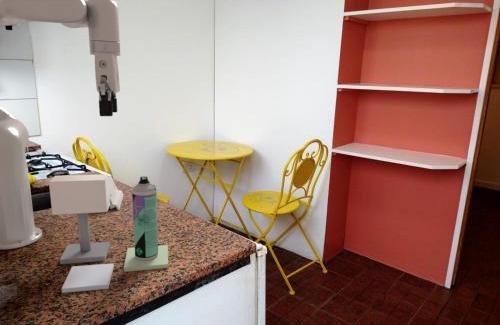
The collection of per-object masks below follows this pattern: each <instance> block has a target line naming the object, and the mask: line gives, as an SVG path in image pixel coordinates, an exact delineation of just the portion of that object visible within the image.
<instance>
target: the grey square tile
mask: <svg viewBox="0 0 500 325" xmlns="http://www.w3.org/2000/svg"><path fill="white" fill-rule="evenodd" d="M114 265H115V264H114V263H112V262H111V263H101V264H88V265H77V266H71V268H70V270H69V272H68V275H67V277H66V279H65V281H64V283H63V285H62V287H61V293H62V294H64V293H74V292H75V293H76V292H77V293H78V292H85V291H97V290H98V291H99V290H106V289H107V290H108V289H109V287H110V284H111V279H112V276H113V271H114V268H115V266H114Z"/></svg>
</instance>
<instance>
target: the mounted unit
mask: <svg viewBox="0 0 500 325" xmlns="http://www.w3.org/2000/svg"><path fill="white" fill-rule="evenodd" d="M108 177H109V173H106V174H105V173H104V174H101V173H100V174H74V175H73V174H70V175H69V174H67V175H54V176H53V177H52V178H51V179H50V180H49V181H48V184H49V195H50V205H51V215H52V216H53V215H54V216H56V215H71V214H72V215H75V214H76V215H77V224H78V226H77V227H78V228H77V229H78V238H79V243H72V244H71V243H69V244H67V246H66V247H65V249H64V251H63V253H62V255H61V257H60V258H59V265H67V264H68V265H70V264H81V263H82V264H83V263H95V262H105V261H106V258H107V256H108V252H109V249H110V241H104V242H103V241H100V242H91V233H90V221H89V220H90V219H89V214H93V213H107V212H108V211H109V209H110V208H109V206H110V196H109V180H108Z"/></svg>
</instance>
